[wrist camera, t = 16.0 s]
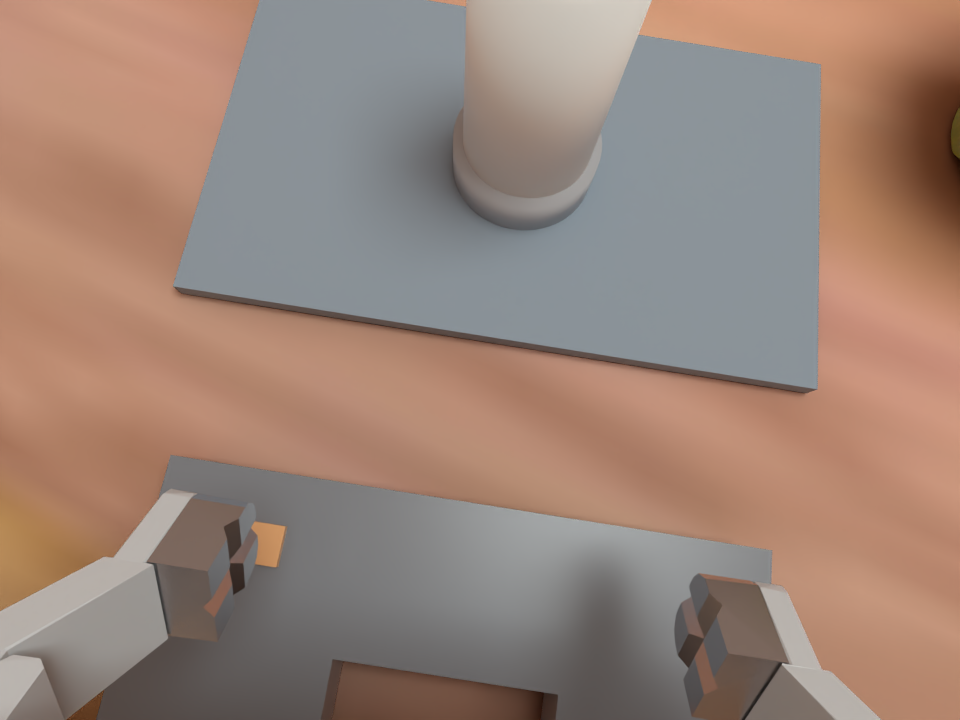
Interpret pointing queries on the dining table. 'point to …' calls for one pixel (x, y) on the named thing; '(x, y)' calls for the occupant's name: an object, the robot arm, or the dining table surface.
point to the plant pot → (956, 134)
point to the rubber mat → (507, 252)
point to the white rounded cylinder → (538, 103)
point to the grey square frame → (430, 605)
